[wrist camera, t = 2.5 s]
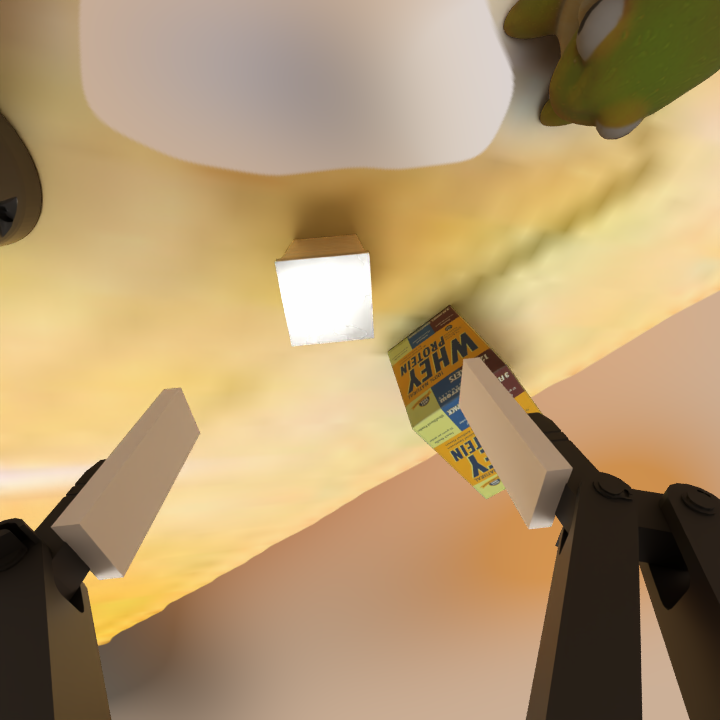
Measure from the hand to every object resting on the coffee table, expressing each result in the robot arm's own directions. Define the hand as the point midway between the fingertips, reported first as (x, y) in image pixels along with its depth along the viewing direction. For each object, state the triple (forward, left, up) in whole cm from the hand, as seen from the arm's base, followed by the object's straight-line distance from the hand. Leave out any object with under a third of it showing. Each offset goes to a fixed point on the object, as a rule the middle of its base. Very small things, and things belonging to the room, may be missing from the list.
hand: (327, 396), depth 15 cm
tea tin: (0, 0, -25) cm, 25 cm away
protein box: (+15, +15, -26) cm, 33 cm away
